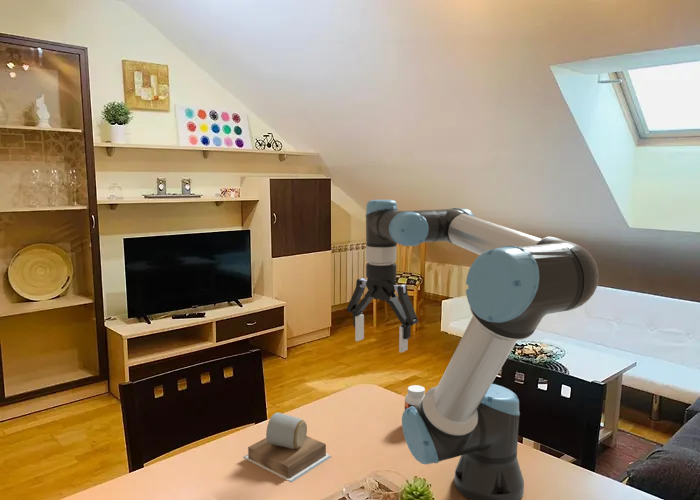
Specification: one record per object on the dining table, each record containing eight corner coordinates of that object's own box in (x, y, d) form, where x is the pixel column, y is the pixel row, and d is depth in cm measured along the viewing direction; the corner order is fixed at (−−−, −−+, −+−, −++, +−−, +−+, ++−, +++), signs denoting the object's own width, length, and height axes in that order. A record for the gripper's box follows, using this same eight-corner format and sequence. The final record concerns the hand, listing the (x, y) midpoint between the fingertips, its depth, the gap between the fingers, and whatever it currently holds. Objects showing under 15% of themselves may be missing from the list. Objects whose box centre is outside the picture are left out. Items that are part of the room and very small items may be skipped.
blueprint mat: (332, 457, 133) (332, 455, 133) (291, 483, 122) (291, 482, 122) (284, 436, 143) (283, 434, 143) (242, 458, 132) (242, 457, 132)
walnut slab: (325, 455, 133) (325, 444, 133) (288, 478, 123) (288, 466, 123) (286, 437, 142) (286, 427, 141) (248, 458, 132) (248, 447, 131)
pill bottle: (399, 425, 149) (400, 388, 147) (414, 418, 153) (414, 382, 152) (416, 433, 145) (417, 395, 143) (431, 426, 149) (432, 388, 147)
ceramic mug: (296, 455, 127) (295, 425, 126) (265, 449, 130) (265, 419, 129) (314, 435, 137) (313, 407, 136) (285, 430, 140) (285, 402, 139)
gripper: (433, 265, 127) (431, 351, 130) (351, 255, 143) (351, 332, 146) (416, 270, 121) (415, 360, 125) (333, 259, 137) (333, 339, 140)
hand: (380, 345), depth 135 cm, fingers open, 13 cm apart
